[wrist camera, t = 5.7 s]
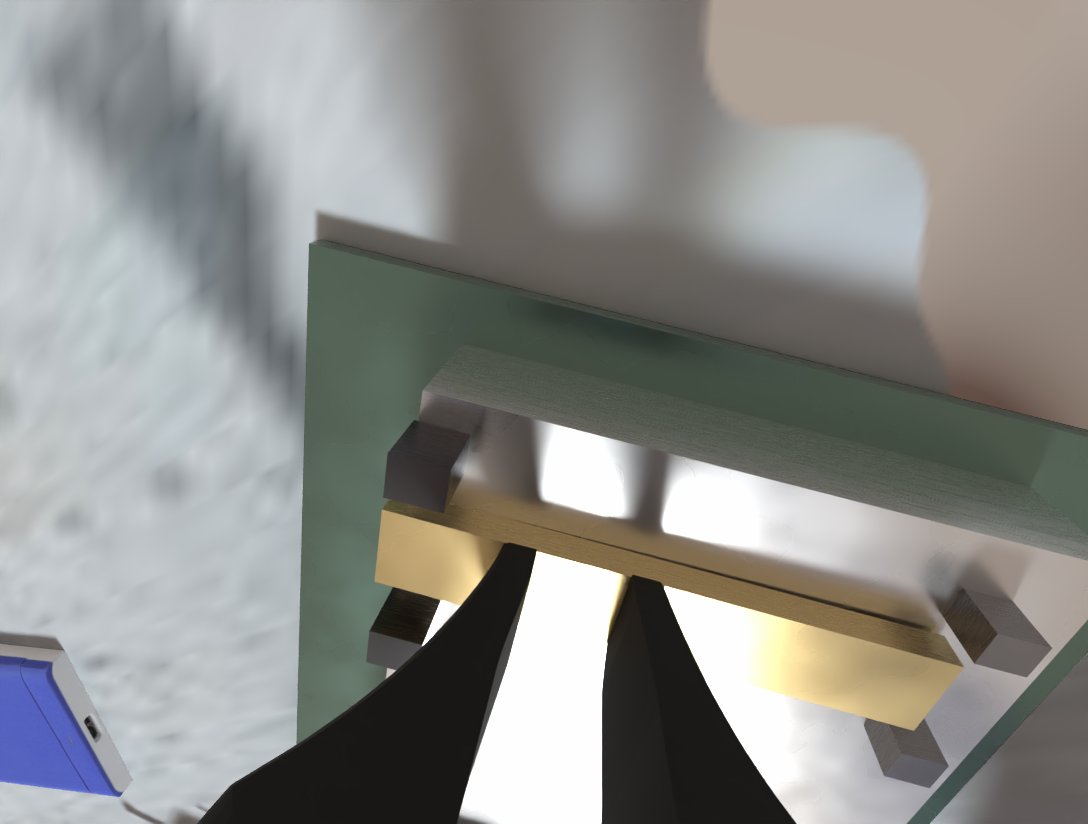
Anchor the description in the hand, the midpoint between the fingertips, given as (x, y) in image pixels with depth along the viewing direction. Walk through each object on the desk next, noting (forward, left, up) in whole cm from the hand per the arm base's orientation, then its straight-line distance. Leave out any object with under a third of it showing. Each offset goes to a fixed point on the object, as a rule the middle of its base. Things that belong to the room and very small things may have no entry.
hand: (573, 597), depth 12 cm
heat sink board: (-3, +6, -4) cm, 8 cm away
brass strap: (-2, 0, -1) cm, 2 cm away
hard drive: (+23, +19, -5) cm, 30 cm away
